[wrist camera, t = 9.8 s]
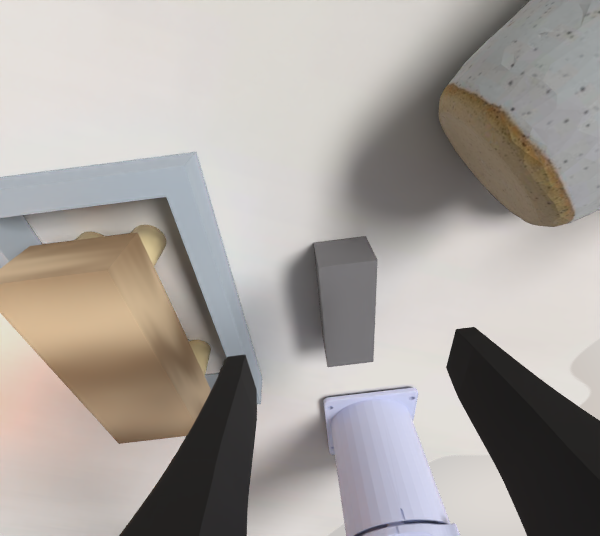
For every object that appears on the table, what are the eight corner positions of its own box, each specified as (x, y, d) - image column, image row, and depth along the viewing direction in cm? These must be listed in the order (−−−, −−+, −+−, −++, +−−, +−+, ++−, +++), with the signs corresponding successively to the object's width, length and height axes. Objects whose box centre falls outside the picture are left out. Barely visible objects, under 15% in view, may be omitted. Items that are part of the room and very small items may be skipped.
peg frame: (262, 378, 24) (260, 407, 22) (128, 394, 25) (114, 424, 23) (196, 152, 15) (182, 167, 12) (-28, 180, 15) (-78, 201, 13)
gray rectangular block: (364, 333, 22) (373, 361, 20) (323, 338, 22) (327, 367, 20) (365, 236, 18) (377, 260, 16) (313, 242, 18) (318, 267, 16)
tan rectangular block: (210, 389, 21) (201, 434, 18) (137, 397, 21) (118, 443, 18) (137, 232, 14) (107, 270, 11) (29, 246, 14) (-24, 286, 12)
